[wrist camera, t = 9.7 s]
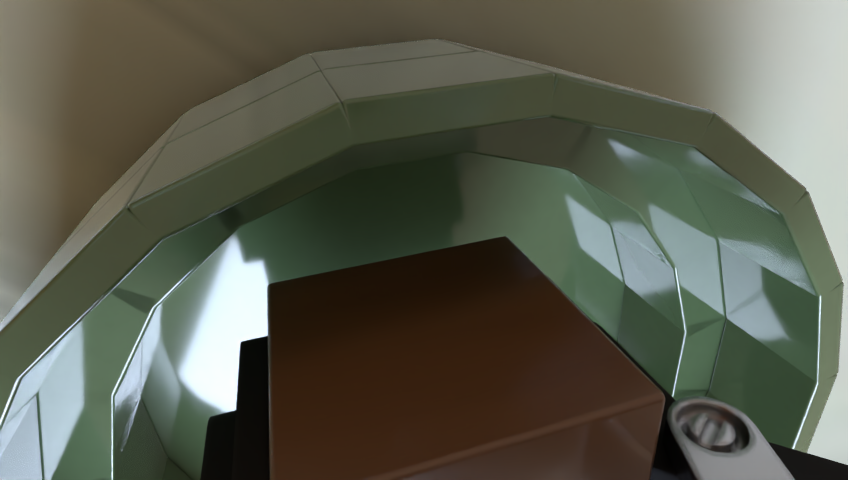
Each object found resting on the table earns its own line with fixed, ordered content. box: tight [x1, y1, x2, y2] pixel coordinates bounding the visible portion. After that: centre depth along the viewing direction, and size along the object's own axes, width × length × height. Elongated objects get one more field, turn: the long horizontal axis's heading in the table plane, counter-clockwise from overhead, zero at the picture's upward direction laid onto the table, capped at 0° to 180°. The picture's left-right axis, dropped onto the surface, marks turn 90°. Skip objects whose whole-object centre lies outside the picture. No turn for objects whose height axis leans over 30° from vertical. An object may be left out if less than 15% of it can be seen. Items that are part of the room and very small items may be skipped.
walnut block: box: [267, 236, 665, 480], centre depth 9 cm, size 5×5×5 cm
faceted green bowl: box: [0, 39, 844, 480], centre depth 13 cm, size 18×18×6 cm
